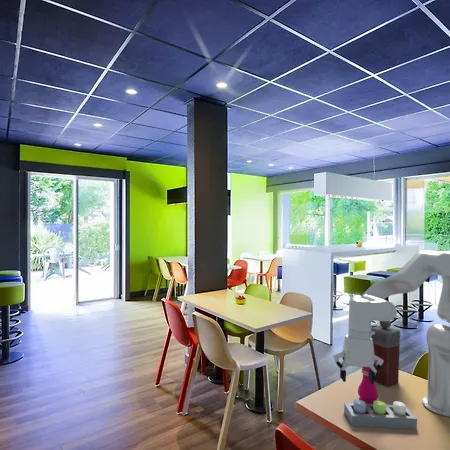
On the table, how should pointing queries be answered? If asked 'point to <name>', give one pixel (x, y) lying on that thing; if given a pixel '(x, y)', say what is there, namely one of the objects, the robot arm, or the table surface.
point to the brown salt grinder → (387, 353)
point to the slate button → (359, 407)
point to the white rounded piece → (399, 408)
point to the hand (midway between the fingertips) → (357, 381)
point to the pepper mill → (367, 387)
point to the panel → (380, 418)
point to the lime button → (379, 407)
